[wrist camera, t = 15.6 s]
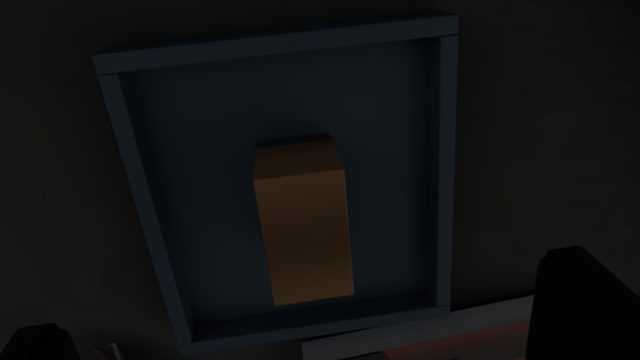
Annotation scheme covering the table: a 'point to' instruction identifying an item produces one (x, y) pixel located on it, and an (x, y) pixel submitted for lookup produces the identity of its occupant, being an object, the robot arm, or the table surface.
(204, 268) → the tray
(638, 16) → the table surface
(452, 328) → the picture frame
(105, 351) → the bird figurine
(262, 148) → the brown wooden block
